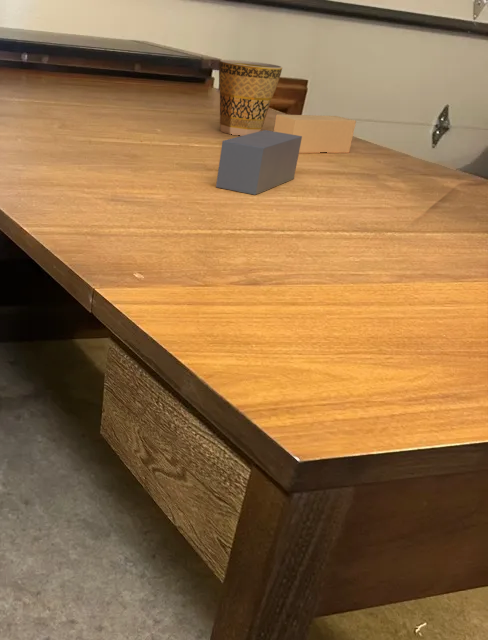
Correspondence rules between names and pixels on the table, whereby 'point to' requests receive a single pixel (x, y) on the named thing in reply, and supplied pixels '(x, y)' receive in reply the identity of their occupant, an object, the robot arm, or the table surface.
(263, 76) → the ceramic cup
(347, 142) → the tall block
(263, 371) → the table surface
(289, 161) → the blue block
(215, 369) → the table surface
